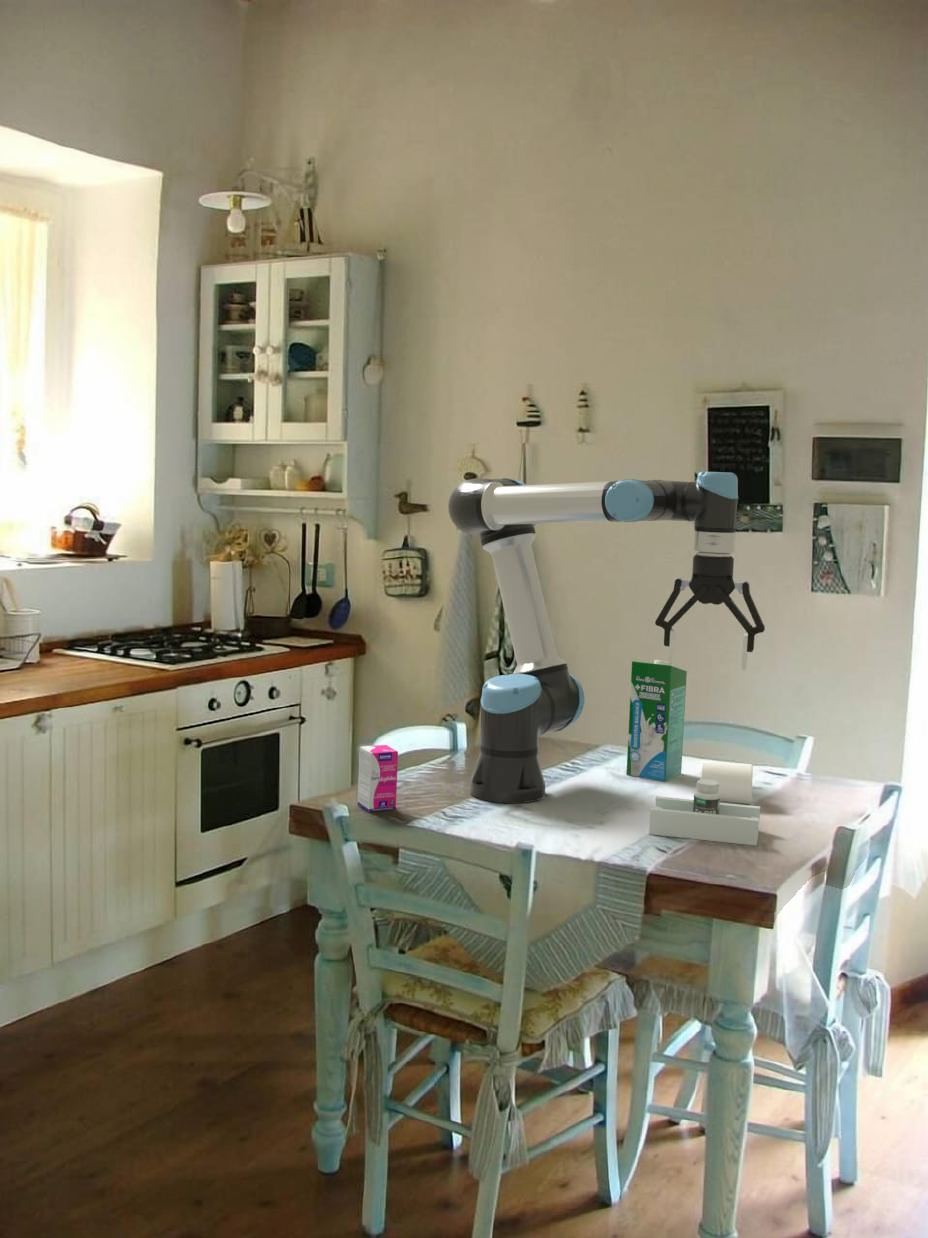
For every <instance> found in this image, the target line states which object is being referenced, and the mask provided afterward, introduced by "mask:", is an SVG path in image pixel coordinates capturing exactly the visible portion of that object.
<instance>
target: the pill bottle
mask: <svg viewBox="0 0 928 1238" xmlns="http://www.w3.org/2000/svg"><path fill="white" fill-rule="evenodd" d="M718 791H719V782H717V781H714V780H707V779H702V780H701V779H698V780H697V781H696V790H695V791H694V793H693V800H694V803H693V812H698V813H708V814H718V815H719V808H720V803H721V802H720V794H719V793H718Z"/></svg>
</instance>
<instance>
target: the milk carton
mask: <svg viewBox="0 0 928 1238" xmlns="http://www.w3.org/2000/svg"><path fill="white" fill-rule="evenodd" d="M687 673H688V672H687V670H684V669H682V668H678V667H676V666H673V665H669V661H666V660H661V659H654V661H653V662H644V661H638V660H637V661H636V660H631V671H630V674H631V675H630V692H629V693H630V697H629V713H628V714H629V715H628V716H629V717H628V733H627V735H628V736H627V738H628V739H627V751H626V752H627V753H626V755H627V756H626V775H627V776H632V777H637V778H643V779H649V780H654V781H660V782H666V781H668V780H670V779H672V778H674V777H676V776H678V775H681V774H682V765H683V750H684V749H683V747H684V745H683V744H684V728H685V712H686V711H685V710H686V692H687V691H686V690H687V689H686V688H687V675H688V674H687Z"/></svg>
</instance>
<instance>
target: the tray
mask: <svg viewBox="0 0 928 1238" xmlns="http://www.w3.org/2000/svg"><path fill="white" fill-rule="evenodd" d="M693 803H694V799H689V798H688V799H687V798H678V797H668V796H659V795H658V796H657V795H656V797H655V804H654V807H650V810H649V826H648V835H655V836H663V837H673V838H681V839H682V838H683V839H691V840H702V841H711V842H719V843H720V842H721V843H730V844H737V845H748V846H755V847H756V846H758V845H757V844H758V838H759V832H760V818H761V817H760V815H761V805H760V806H759V805H751V804H737V803H725V802H720V808H719V815H718V814H708V813H698V812H693Z"/></svg>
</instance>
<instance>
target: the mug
mask: <svg viewBox="0 0 928 1238" xmlns="http://www.w3.org/2000/svg"><path fill="white" fill-rule="evenodd" d="M753 771H754V770H753V764H751V763H741V762H728V761H727V762H726V761H715V760H714V761H713V760H701V767H700V780H702V779H707V780H714V781H717V782H719V791H718V793H719V794H720V803H730V804H740V805H751V804H752V794H753V793H752V791H753V777H754V776H753V774H754V772H753Z"/></svg>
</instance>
